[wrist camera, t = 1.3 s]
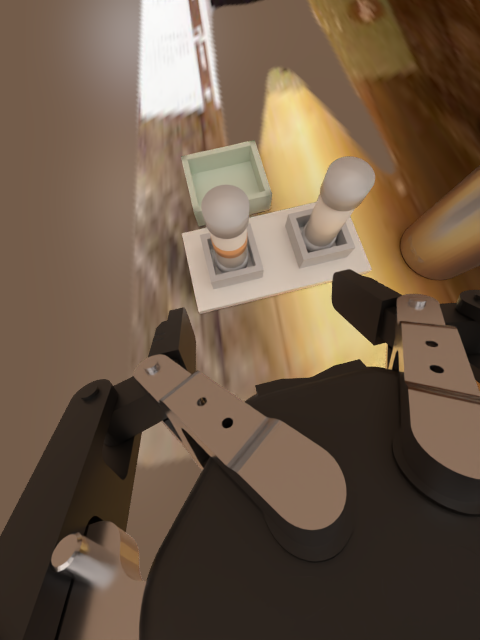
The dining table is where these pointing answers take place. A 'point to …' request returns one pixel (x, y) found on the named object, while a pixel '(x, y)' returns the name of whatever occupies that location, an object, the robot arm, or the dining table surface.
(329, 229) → the fuse
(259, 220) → the fuse board
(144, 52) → the dining table surface
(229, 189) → the ball
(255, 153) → the parts tray
